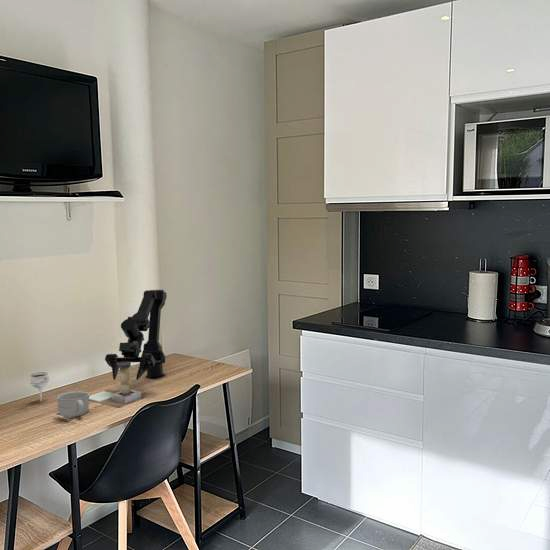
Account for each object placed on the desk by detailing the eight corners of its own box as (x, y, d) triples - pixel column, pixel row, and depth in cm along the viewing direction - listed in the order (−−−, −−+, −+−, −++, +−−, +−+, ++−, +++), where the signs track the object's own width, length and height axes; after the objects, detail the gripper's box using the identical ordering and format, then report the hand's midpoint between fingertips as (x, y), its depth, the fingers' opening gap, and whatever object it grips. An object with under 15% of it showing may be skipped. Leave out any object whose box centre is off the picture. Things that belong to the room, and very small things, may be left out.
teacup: (57, 414, 200) (55, 393, 200) (88, 408, 205) (86, 388, 204) (61, 427, 188) (59, 404, 187) (94, 420, 193) (92, 398, 192)
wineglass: (33, 409, 207) (30, 378, 206) (30, 404, 213) (27, 374, 212) (52, 405, 211) (50, 374, 210) (48, 400, 217) (46, 371, 215)
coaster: (103, 392, 221) (103, 391, 221) (118, 395, 216) (118, 394, 215) (84, 398, 213) (84, 397, 213) (99, 402, 208) (99, 401, 208)
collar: (127, 394, 216) (127, 388, 216) (141, 398, 212) (140, 391, 211) (111, 400, 210) (111, 394, 209) (125, 404, 205) (124, 397, 205)
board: (108, 392, 224) (108, 389, 224) (145, 400, 212) (145, 397, 212) (81, 401, 214) (81, 398, 214) (118, 411, 201) (118, 408, 201)
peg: (127, 396, 214) (124, 360, 212) (135, 398, 211) (133, 362, 210) (117, 400, 210) (114, 363, 208) (125, 402, 207) (123, 365, 206)
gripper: (105, 333, 215) (94, 369, 205) (151, 333, 213) (142, 368, 203) (114, 348, 223) (104, 383, 214) (158, 348, 221) (151, 383, 211)
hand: (125, 379), depth 210 cm, fingers open, 9 cm apart
